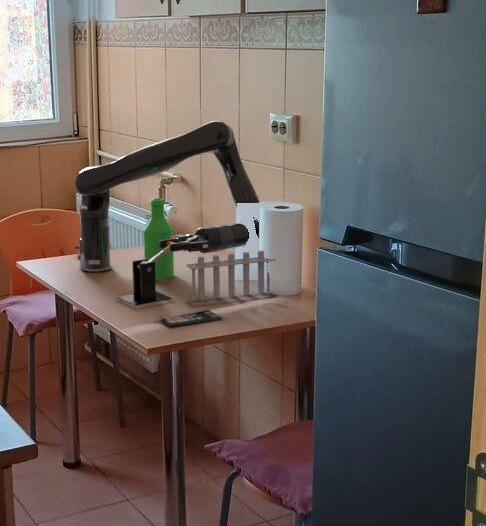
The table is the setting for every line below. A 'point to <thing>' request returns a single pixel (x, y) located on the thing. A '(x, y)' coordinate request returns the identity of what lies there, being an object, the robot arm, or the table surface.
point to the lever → (158, 254)
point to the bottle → (152, 236)
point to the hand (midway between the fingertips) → (165, 246)
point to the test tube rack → (229, 274)
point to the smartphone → (190, 318)
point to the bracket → (144, 284)
